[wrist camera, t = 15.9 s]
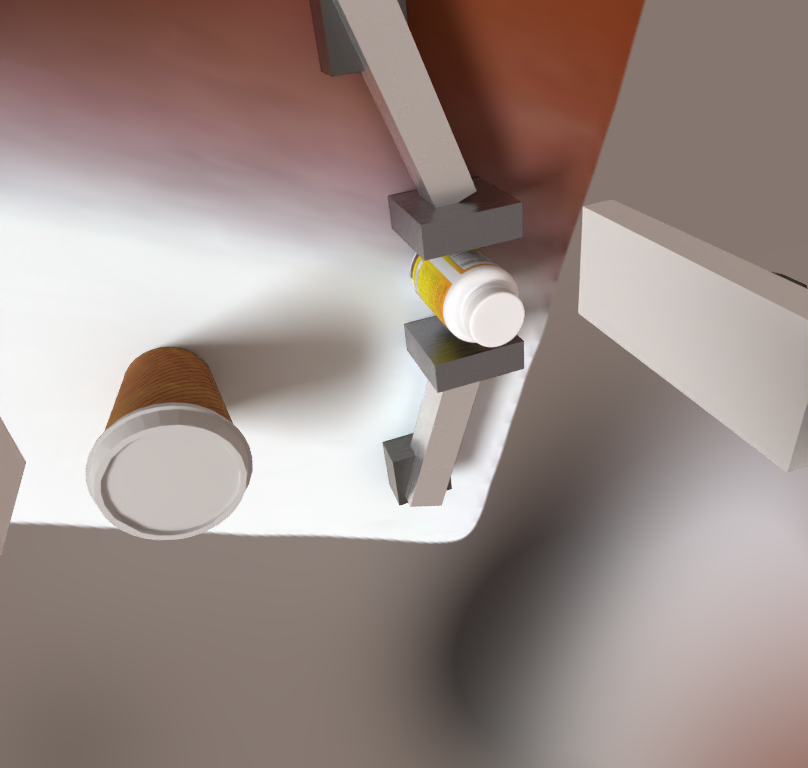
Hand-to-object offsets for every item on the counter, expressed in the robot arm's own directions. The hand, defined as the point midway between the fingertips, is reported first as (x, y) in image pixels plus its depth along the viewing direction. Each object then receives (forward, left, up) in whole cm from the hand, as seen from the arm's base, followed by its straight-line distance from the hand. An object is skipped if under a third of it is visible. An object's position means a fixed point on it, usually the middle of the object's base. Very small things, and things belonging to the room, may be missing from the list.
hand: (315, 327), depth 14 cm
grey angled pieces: (+12, -14, -32) cm, 37 cm away
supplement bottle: (+14, -14, -32) cm, 38 cm away
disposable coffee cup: (-8, -18, -32) cm, 37 cm away
